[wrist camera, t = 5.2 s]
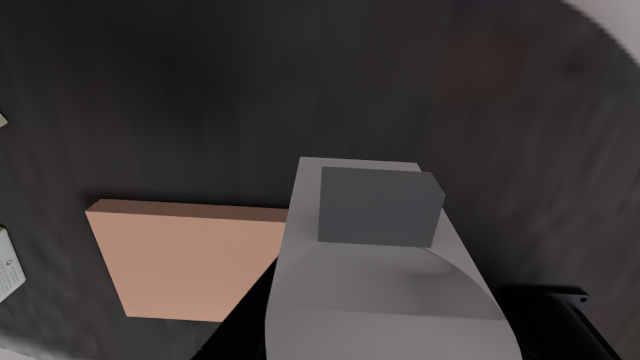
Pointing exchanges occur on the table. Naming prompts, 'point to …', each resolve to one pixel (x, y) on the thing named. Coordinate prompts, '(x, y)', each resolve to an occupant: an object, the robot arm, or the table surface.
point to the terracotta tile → (184, 254)
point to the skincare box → (2, 121)
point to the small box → (8, 267)
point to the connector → (377, 272)
